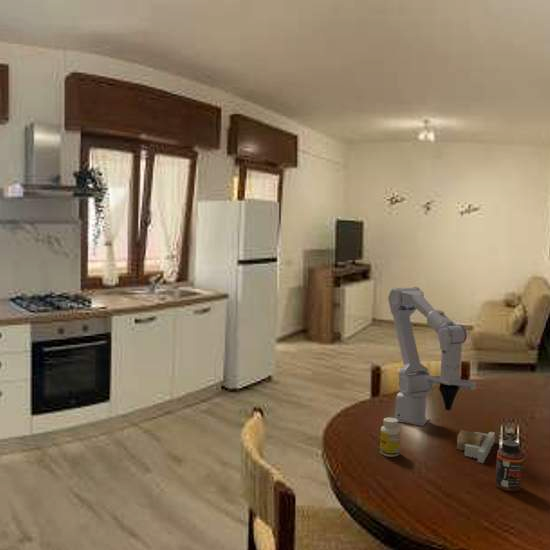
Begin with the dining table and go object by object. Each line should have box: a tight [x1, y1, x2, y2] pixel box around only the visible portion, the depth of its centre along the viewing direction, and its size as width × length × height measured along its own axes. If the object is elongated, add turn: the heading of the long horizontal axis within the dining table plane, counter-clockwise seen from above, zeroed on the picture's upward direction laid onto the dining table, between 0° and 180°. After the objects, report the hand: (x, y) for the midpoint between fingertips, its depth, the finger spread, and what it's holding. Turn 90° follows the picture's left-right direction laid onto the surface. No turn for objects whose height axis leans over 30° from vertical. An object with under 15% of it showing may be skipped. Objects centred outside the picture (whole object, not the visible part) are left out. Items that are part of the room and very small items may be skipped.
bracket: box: [464, 431, 496, 464], centre depth 171 cm, size 6×18×3 cm, turn 151°
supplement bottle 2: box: [494, 439, 524, 492], centre depth 147 cm, size 6×6×11 cm
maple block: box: [456, 429, 482, 451], centre depth 173 cm, size 6×6×4 cm
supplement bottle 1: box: [379, 417, 401, 458], centre depth 167 cm, size 5×5×10 cm
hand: (448, 409), depth 180 cm, fingers closed
